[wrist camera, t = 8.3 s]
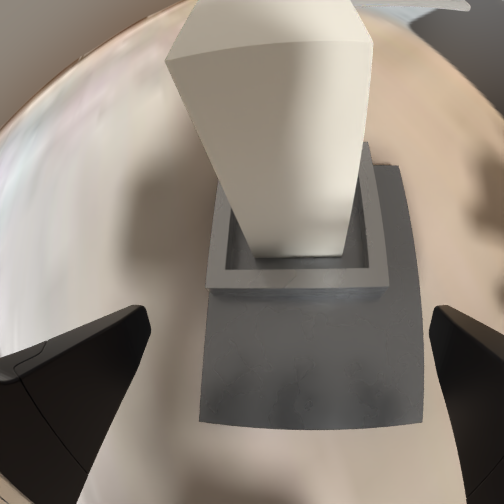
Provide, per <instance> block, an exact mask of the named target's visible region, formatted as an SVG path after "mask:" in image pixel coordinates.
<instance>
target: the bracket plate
mask: <svg viewBox="0 0 504 504" xmlns="http://www.w3.org/2000/svg"><path fill="white" fill-rule="evenodd" d="M205 288H206V289H207V290H208V291H209V301H208V312H207V323H206V334H205V346H204V358H203V371H202V384H201V399H200V414H199V422H206V423H213V424H222V425H231V426H241V427H252V428H267V429H288V430H342V429H363V428H377V427H388V426H398V425H406V424H414V423H422V419H423V398H424V343H423V322H422V308H421V296H420V286H419V276H418V268H417V260H416V253H415V246H414V240H413V234H412V228H411V222H410V216H409V211H408V206H407V201H406V196H405V192H404V187H403V183H402V178H401V174H400V170H399V166H390V165H373V164H372V159H371V154H370V149H369V145H368V142H363V145H362V152H361V159H360V165H359V171H358V177H357V183H356V189H355V194H354V200H353V205H352V211H351V216H350V221H349V226H348V231H347V235H346V240H345V245H344V249H343V254H342V257H294V258H254V256H253V254H252V252H251V249H250V247H249V245H248V243H247V241H246V238H245V236H244V234H243V232H242V230H241V228H240V225H239V223H238V221H237V219H236V217H235V214H234V212H233V210H232V208H231V206H230V203H229V201H228V199H227V197H226V195H225V192H224V190H223V188H222V186H221V184H220V181H219V179H218V185H217V193H216V200H215V208H214V215H213V223H212V231H211V239H210V248H209V256H208V265H207V274H206V283H205Z"/></svg>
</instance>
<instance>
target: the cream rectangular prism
mask: <svg viewBox="0 0 504 504" xmlns="http://www.w3.org/2000/svg"><path fill="white" fill-rule="evenodd" d="M372 55H373V41H372V39H371V37H370V35H369V33H368V31H367V29H366V27H365V25H364V24H363V22H362V20H361V18H360V16H359V15H358V13H357V11H356V9H355V8H354V6H353V4H352V3H351V1H350V0H198V1H197V3H196V5H195V6H194V8H193V10H192V11H191V13H190V15H189V17H188V18H187V20H186V22H185V24H184V25H183V27H182V29H181V31H180V33H179V34H178V36H177V38H176V40H175V42H174V44H173V46H172V48H171V49H170V51H169V53H168V55H167V57H166V59H165V63H166V65H167V67H168V70H169V72H170V74H171V76H172V78H173V81H174V83H175V85H176V87H177V89H178V92H179V94H180V96H181V98H182V100H183V103H184V105H185V107H186V109H187V111H188V113H189V116H190V118H191V120H192V122H193V124H194V127H195V129H196V131H197V133H198V135H199V138H200V140H201V142H202V144H203V146H204V149H205V151H206V153H207V155H208V157H209V160H210V162H211V164H212V166H213V168H214V171H215V173H216V175H217V177H218V179H219V181H220V184H221V186H222V188H223V190H224V192H225V195H226V197H227V199H228V201H229V203H230V206H231V208H232V210H233V212H234V214H235V217H236V219H237V221H238V223H239V225H240V228H241V230H242V232H243V234H244V236H245V238H246V241H247V243H248V245H249V247H250V249H251V252H252V254H253V256H254V258H294V257H342V254H343V249H344V245H345V240H346V235H347V231H348V226H349V221H350V216H351V211H352V205H353V200H354V194H355V189H356V183H357V177H358V171H359V165H360V159H361V152H362V145H363V138H364V131H365V124H366V116H367V107H368V98H369V89H370V79H371V67H372Z"/></svg>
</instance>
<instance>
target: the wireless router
mask: <svg viewBox="0 0 504 504" xmlns="http://www.w3.org/2000/svg"><path fill="white" fill-rule="evenodd" d="M350 1H351V3H352V4H353V6H354V8H360V7H386V6H404V7H430V8H439V9H450V10H459V11H470V7H471V6H470V5H469V4H468V3H467V2H466V1H465V0H350Z"/></svg>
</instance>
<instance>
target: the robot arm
mask: <svg viewBox="0 0 504 504" xmlns="http://www.w3.org/2000/svg"><path fill="white" fill-rule="evenodd" d="M150 334H151V326H150V322H149V319H148V315H147V311H146V308H145V307H144V306H142V305H131V306H128V307H126V308H124V309H121V310H119V311H116V312H114V313H112V314H109V315H107V316H104V317H102V318H100V319H97V320H95V321H92V322H90V323H88V324H85V325H83V326H80V327H78V328H76V329H73V330H71V331H68V332H66V333H64V334H61V335H59V336H56V337H54V338H51V339H49V340H48V341H44V342H42V343H39V344H37V345H34V346H32V347H29V348H27V349H24V350H21V351H19V352H16V353H13V354H10V355H7V356H4V357H1V358H0V504H76V503H77V501H78V498H79V496H80V493H81V491H82V489H83V486H84V484H85V482H86V479H87V477H88V474H89V472H90V470H91V467H92V465H93V463H94V461H95V458H96V456H97V454H98V452H99V449H100V447H101V445H102V443H103V441H104V438H105V436H106V434H107V432H108V430H109V428H110V425H111V423H112V421H113V419H114V417H115V415H116V413H117V410H118V408H119V406H120V404H121V402H122V400H123V398H124V396H125V394H126V392H127V390H128V388H129V386H130V384H131V382H132V379H133V377H134V375H135V373H136V371H137V369H138V366H139V364H140V361H141V358H142V355H143V353H144V350H145V347H146V345H147V342H148V339H149V337H150ZM429 338H430V342H431V347H432V351H433V356H434V361H435V366H436V371H437V375H438V379H439V383H440V386H441V389H442V393H443V396H444V399H445V403H446V407H447V410H448V414H449V418H450V421H451V425H452V429H453V433H454V438H455V442H456V446H457V451H458V455H459V460H460V465H461V470H462V476H463V482H464V488H465V494H466V498H467V499H466V502H467V504H504V335H503V334H501V333H499V332H497V331H496V330H494V329H492V328H490V327H488V326H486V325H484V324H483V323H481V322H479V321H477V320H475V319H473V318H471V317H469V316H468V315H466V314H464V313H462V312H460V311H458V310H456V309H454V308H452V307H450V306H448V305H440V306H436V307H435V308H434V311H433V315H432V320H431V324H430V328H429Z"/></svg>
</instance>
